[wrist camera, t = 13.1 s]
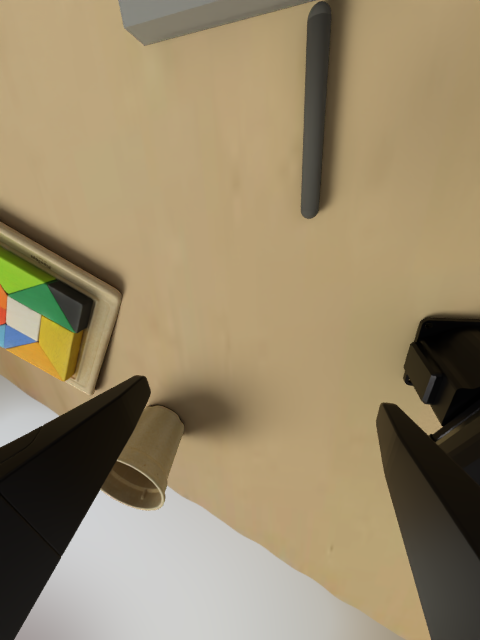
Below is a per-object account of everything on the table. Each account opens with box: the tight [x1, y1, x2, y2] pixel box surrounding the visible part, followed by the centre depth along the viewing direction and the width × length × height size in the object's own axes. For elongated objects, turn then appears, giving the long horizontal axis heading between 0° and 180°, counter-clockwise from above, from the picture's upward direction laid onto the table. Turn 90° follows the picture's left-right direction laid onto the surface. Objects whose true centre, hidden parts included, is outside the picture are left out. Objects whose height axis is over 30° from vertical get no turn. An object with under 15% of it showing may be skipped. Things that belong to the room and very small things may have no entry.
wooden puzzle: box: [0, 222, 122, 396], centre depth 28 cm, size 18×19×4 cm
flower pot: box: [100, 405, 184, 511], centre depth 30 cm, size 9×9×9 cm
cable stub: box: [301, 1, 331, 219], centre depth 15 cm, size 1×10×1 cm, turn 4°
